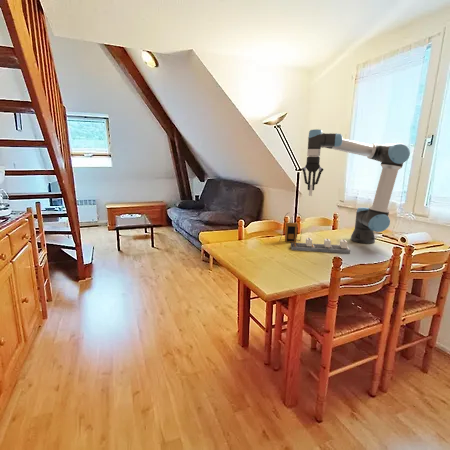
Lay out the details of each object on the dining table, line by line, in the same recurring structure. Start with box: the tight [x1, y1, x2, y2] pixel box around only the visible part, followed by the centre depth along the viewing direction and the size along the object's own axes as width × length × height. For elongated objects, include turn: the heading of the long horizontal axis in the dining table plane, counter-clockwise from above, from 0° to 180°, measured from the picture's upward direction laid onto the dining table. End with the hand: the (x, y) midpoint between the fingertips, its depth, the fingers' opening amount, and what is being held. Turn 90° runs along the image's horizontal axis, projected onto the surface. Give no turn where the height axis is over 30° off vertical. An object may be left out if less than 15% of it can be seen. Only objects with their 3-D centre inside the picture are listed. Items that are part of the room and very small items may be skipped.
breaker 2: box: [323, 238, 332, 248], centre depth 178 cm, size 3×5×4 cm, turn 171°
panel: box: [290, 242, 351, 254], centre depth 180 cm, size 34×10×2 cm, turn 81°
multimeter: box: [279, 212, 303, 243], centre depth 196 cm, size 15×10×20 cm
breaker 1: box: [305, 237, 313, 246], centre depth 180 cm, size 3×5×4 cm, turn 171°
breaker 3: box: [339, 239, 348, 249], centre depth 177 cm, size 3×5×4 cm, turn 171°
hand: (310, 195), depth 180 cm, fingers closed
